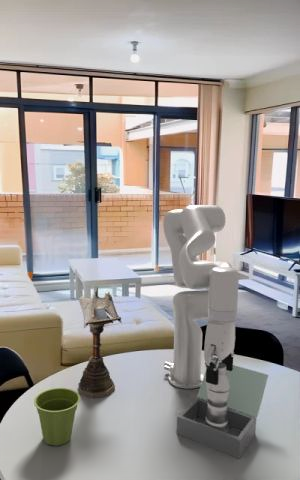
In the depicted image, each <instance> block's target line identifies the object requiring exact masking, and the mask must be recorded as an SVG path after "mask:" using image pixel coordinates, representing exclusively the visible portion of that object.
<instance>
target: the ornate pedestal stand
mask: <svg viewBox="0 0 300 480" xmlns="http://www.w3.org/2000/svg"><path fill="white" fill-rule="evenodd" d="M78 302H79V305H80V308H81V313H82V315H83V329H85V328H87V326H88V327H89V333H91V334H92V344H91V346H92V355H91V357H89V358H88V363H87V365H86V367H85V368H84V370H83V371H82V376H81V378H80V381H79V382H78V390H79V393H80V394H79V395H82V396H85V397H88V398H90V399H96V398H103V397H108V396H109V395H111V394H112V393H113V392H114V391H115V390H116V384H115V383H114V381H113V379H112V378H111V375H110V372H109V369H108V368H107V366H106V364H105V362H104V357H103V356H102V355H101V349H100V348H101V346H102V344H101V335H102V333H103V332H104V326H105V325H110V324H113V323H114V322H116V321H118V322H119V323H121V324H122V317H121V316H119V315H118V313H117V309H116V306H115V304H114V300H113V297H112V294H111V293H110V291H108V293H107V292H105V293H104V296H103V297H100V296H99V286H98V284H96V285H95V286H93V293H92V297H91V298H87V297H86V295H80V296H79V297H78Z"/></svg>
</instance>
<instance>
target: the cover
mask: <svg viewBox="0 0 300 480" xmlns="http://www.w3.org/2000/svg"><path fill="white" fill-rule="evenodd" d="M211 362H213V363H215V362H216V361H214V360H212V361H211ZM219 363H221V361H220V362H219ZM203 375H204V378H203V381H202V384H201V386H200V387H199V390H198V394H197V396H196V398H200V399H203V400H206V401H208V400H207V386H206V371H205V372H204V374H203ZM225 375H226V376H227V378H228V379H229V381H230V391H229V396H228V404H227V408H229V409H232V410H235V411H238V412H241V413H244V414H247V415H250V416H253V417H255V418H256V419H257V418H258V417H259V414H260V413H259V412H260V408H261V405H262V401H263V397H264V393H265V389H266V386H267V382H268V378H269V375H268V374H266V373H264V372H261V371H256V370H252V369H250V368H249V369H248V368H245V367H242V366H238V365H235V364H233V370H232V371H228V370H226V374H225Z"/></svg>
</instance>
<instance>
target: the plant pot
mask: <svg viewBox="0 0 300 480" xmlns="http://www.w3.org/2000/svg"><path fill="white" fill-rule="evenodd" d="M80 395H81V394H79V392H78V391H76V390H73V389H71V388H66V387H53V388H49V389H46V390H43V391H41V392H40V393H38V394H37V395H36V396H35V398H34V399H33V405H34V407H35V408H36V409H37V414H38V416H39V422H40V423H39V424H40V428H41V434H42V440H43V442H44V443H45V444H46V445H49V446H51V445H52V446H54V447H55V446H57V447H58V446H62V445H64V444H66V443H68V442H69V441H70V439H71V436H72V432H73V428H74V427H73V426H74V421H75V417H76V411H77V408H78V405H79V403H80V401H81V396H80Z"/></svg>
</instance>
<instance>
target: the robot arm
mask: <svg viewBox="0 0 300 480" xmlns="http://www.w3.org/2000/svg"><path fill="white" fill-rule="evenodd" d="M163 216H164V217H163V222H162V223H163V224H162V225H163V232H164V237H165V239H166V241H167V244H168V246H169V250H170V254H171V262H172V272H173V273H172V274H173V279H174V283H175V285H176V286H177V287H179V288H181V289H191V290H185V291H178V292H177V293H176V294H175V295H173V297H172V313H173V324H174V325H173V326H174V327H173V331H174V332H173V333H174V335H173V356H172V357H173V359H172V360H173V363H172V362H170V361H168V360H166V361H165V362H164V365H163V370H165V371H169V373H168V377H167V378H168V382H169V383H170V384H171V385H172V386H174V387H176V388H180V389H185V390H192V389H198V388H200V387H201V384H202V381H203V378H204V375H205V374H203V373H201V372H202V353H203V356H204V362H205V363H204V365H205V372H206V382H207V383H210V384H214V385H217V384H218V372H219V370H217V368H218V365H219V362H220V361H221V363H223V364H225V365H226V370H228V371H232V370H233V365H234V356H235V352H234V350H235V345H236V344H235V343H236V323H237V321H238V301H239V300H238V299H239V280H240V279H239V278H240V277H239V276H240V275H239V271H238V270H237V269H236V268H234V267H233V265H232V264H231V263H230V262H227V261H222V260H221V261H218V260H217V261H214V260H208V259H206V260H202V259H200V260H199V259H197V257H198V256H200V255H202V254H204V253H206V252H208V251H209V250H211V248H212V247H214V245H215V242H216V235H215V233H218V232H221V231H222V230H223V229H224V228H225V225H226V214H225V212H224V210H223V208H222V207H220V206H219V205H216V204H214V205H213V204H211V205H209V204H208V205H207V204H193V205H188V206H185V207H184V208H182V209H173V210H169V211H167V212H166V213H165V214H164V215H163ZM197 320H198V321H199V320H207V326H206V330H205V338H204V349H203V348H202V347H203V331H202V328H201V326H200V325H199V324H198V323H197V322H196V321H197ZM202 351H203V352H202ZM212 360H214V361H216V362H215V365H214V364H213V362H211V361H212Z"/></svg>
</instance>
